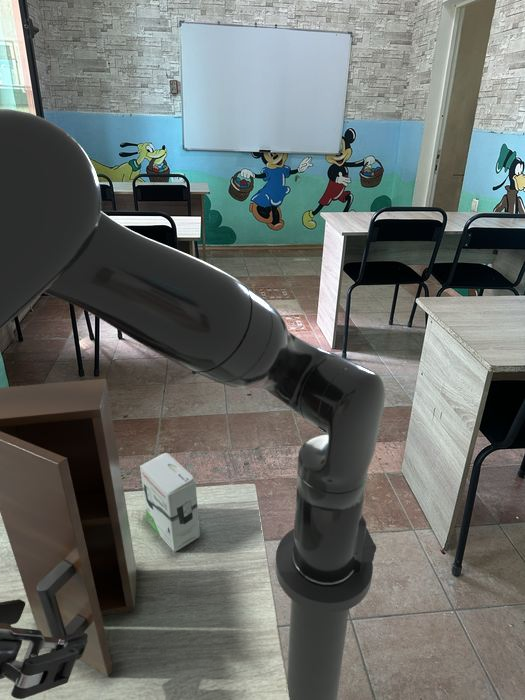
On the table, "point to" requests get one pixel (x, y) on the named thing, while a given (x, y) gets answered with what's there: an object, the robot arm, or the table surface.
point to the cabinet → (83, 472)
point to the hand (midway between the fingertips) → (50, 626)
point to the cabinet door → (50, 546)
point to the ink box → (170, 501)
